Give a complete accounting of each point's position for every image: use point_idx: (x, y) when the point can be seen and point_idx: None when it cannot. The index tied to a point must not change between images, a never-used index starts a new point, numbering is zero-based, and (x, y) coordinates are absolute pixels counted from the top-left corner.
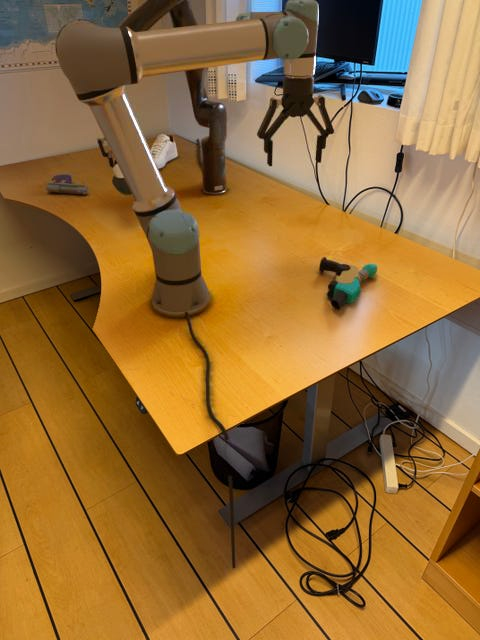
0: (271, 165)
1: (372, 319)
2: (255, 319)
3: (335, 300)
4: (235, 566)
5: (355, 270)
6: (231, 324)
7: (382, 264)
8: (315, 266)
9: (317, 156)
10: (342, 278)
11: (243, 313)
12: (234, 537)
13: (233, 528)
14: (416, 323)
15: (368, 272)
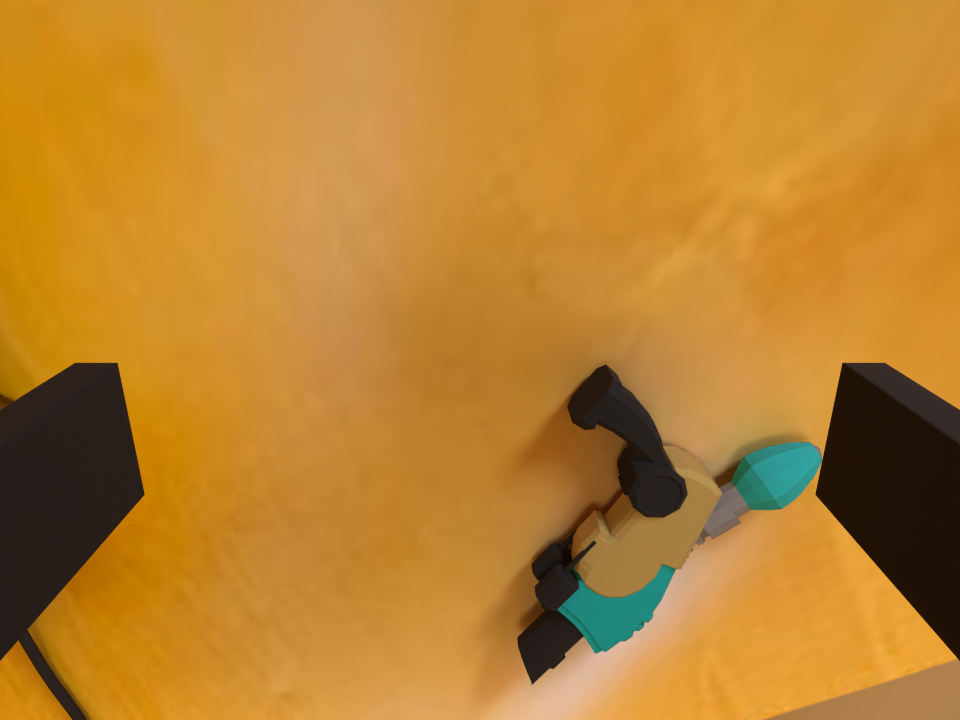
0: (128, 500)
1: (629, 679)
2: (252, 618)
3: (526, 669)
4: None
5: (694, 523)
6: (170, 627)
7: None
8: (576, 331)
9: (866, 479)
10: (611, 564)
11: (213, 583)
12: None
13: None
14: (750, 715)
15: (751, 508)
